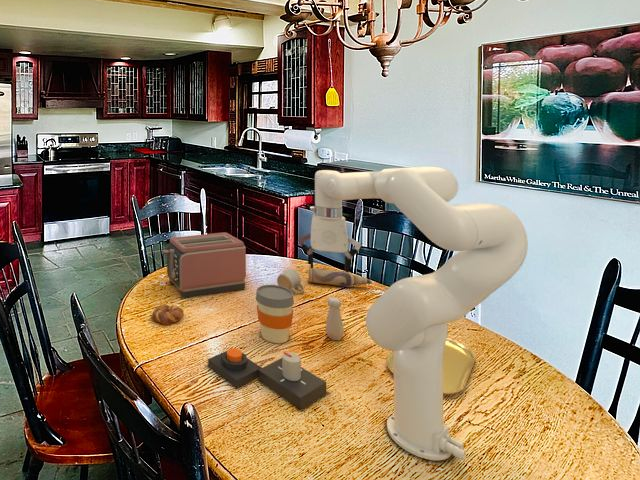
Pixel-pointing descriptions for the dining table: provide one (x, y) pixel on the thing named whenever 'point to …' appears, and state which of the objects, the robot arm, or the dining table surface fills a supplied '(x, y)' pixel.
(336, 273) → the decorative bottle
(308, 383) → the fryer panel
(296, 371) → the timer knob
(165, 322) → the braided bread roll
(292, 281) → the ceramic mug
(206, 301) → the dining table surface
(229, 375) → the block
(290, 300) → the reusable coffee cup
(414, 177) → the robot arm
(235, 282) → the toaster
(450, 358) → the serving platter
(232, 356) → the button
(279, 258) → the dining table surface
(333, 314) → the salt shaker
